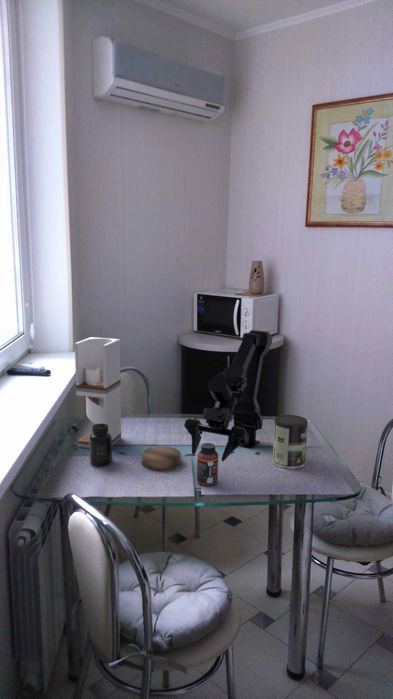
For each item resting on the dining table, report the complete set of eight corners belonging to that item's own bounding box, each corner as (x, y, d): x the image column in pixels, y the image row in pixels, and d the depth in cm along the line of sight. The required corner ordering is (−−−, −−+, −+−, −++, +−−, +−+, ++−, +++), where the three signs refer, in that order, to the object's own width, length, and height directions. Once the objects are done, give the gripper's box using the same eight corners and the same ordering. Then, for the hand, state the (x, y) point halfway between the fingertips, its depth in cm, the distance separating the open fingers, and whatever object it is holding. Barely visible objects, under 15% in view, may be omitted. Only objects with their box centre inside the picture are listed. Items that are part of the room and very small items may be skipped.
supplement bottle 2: (215, 488, 154) (216, 450, 151) (195, 485, 155) (195, 448, 153) (219, 478, 160) (220, 442, 157) (199, 476, 161) (199, 440, 158)
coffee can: (307, 458, 175) (309, 416, 172) (302, 471, 166) (305, 427, 163) (275, 453, 178) (277, 412, 176) (269, 466, 169) (271, 422, 166)
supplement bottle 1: (116, 460, 171) (115, 423, 169) (105, 468, 165) (105, 431, 163) (96, 456, 174) (95, 420, 171) (85, 465, 167) (84, 428, 165)
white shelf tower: (93, 434, 192) (90, 337, 185) (121, 438, 190) (120, 339, 182) (77, 446, 182) (74, 343, 174) (107, 450, 179) (105, 345, 171)
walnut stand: (157, 452, 178) (157, 443, 178) (188, 460, 172) (188, 452, 171) (133, 464, 168) (133, 455, 168) (164, 474, 162) (164, 464, 161)
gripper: (187, 391, 161) (169, 439, 153) (247, 400, 153) (231, 451, 145) (197, 410, 169) (181, 456, 162) (255, 419, 162) (240, 468, 154)
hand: (207, 457), depth 155 cm, fingers open, 9 cm apart
